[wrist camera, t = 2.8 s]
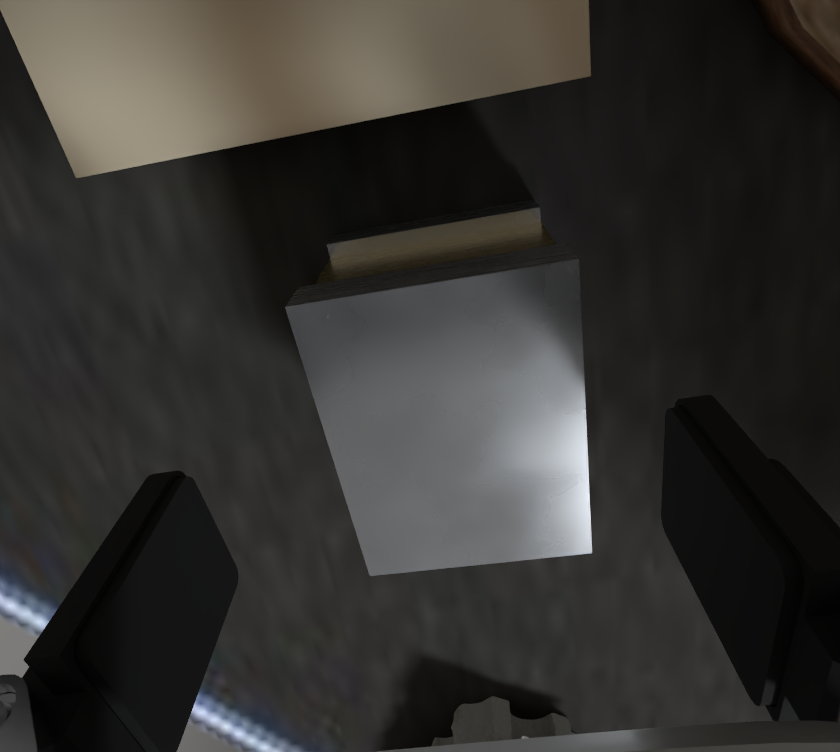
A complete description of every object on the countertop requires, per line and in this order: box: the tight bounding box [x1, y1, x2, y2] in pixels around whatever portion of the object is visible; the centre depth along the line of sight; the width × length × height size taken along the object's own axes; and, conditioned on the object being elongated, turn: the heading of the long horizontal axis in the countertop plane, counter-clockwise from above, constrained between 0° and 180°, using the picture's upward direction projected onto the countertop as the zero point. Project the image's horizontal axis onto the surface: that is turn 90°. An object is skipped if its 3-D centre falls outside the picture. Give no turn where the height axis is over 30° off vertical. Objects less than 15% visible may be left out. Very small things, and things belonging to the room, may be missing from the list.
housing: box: [285, 199, 592, 576], centre depth 16 cm, size 6×8×6 cm
